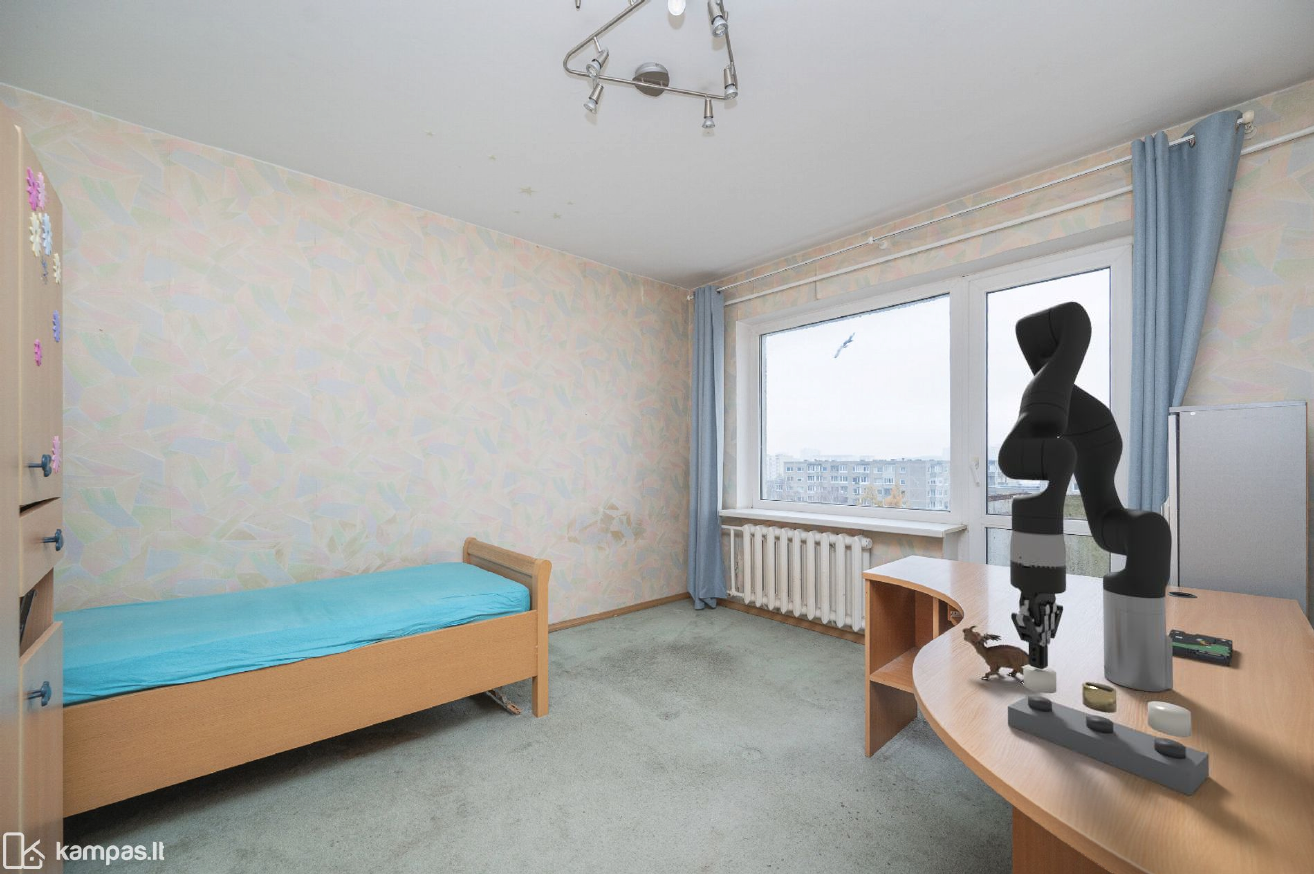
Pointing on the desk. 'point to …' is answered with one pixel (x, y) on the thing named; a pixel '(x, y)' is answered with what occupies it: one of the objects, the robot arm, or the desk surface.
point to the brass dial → (1099, 697)
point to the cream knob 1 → (1039, 679)
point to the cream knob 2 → (1169, 719)
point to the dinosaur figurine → (997, 653)
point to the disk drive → (1201, 647)
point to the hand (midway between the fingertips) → (1038, 666)
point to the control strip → (1112, 743)
